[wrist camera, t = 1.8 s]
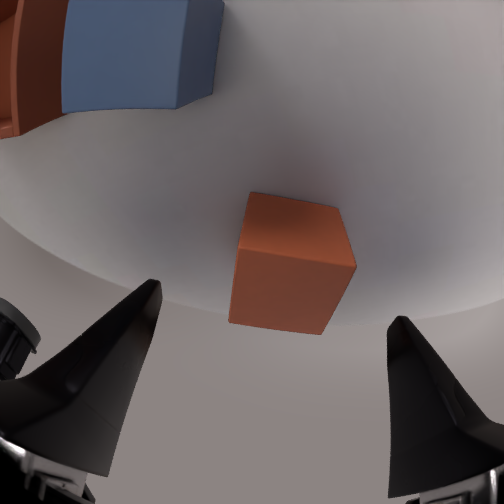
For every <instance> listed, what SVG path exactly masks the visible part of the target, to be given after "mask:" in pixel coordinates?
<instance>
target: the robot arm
mask: <svg viewBox="0 0 504 504" xmlns="http://www.w3.org/2000/svg"><path fill="white" fill-rule="evenodd" d="M162 299H163V295H162V288H161V282H160V281H159V280H154V279H148V280H147V281H146V282H144V283H143V284H142V285H140V286H139V287H138V288H137V289H135V290H134V291H133V292H132V293H131V294H129V295H128V296H127V297H126V298H124V299H123V300H122V301H121V302H119V303H118V304H117V305H116V306H115V307H113V308H112V309H111V310H110V311H108V312H107V313H106V314H105V315H104V316H103V317H101V318H100V319H99V320H98V321H96V322H95V323H94V324H93V325H92V326H91V327H89V328H88V329H87V330H86V331H85V332H84V333H82V336H81V335H80V336H79V337H78V338H76V339H75V340H74V341H73V342H72V343H70V344H69V345H68V346H67V347H66V348H64V349H63V350H62V351H61V352H59V353H58V354H56V355H55V356H54V357H52V358H51V359H50V360H48V361H47V362H45V363H44V364H42V365H41V366H40V367H38V368H37V369H36V370H34V371H33V372H31V373H30V374H28V375H26V376H24V377H22V378H18V379H15V377H16V375H17V374H19V373H20V371H21V369H22V367H23V365H24V363H25V361H26V359H27V357H28V355H29V353H30V352H32V353H34V354H36V353H37V351H36V350H35V348H34V347H33V346H32V345H31V343H30V342H29V341H28V339H27V338H26V337H25V335H24V334H23V333H22V331H21V330H20V329H19V327H18V326H17V324H16V323H15V322H14V321H12V320H10V319H9V318H7V317H5V316H3V315H2V314H0V504H95V498H94V496H93V495H92V493H91V492H90V490H89V488H88V487H87V485H86V483H85V481H86V477H87V473H92V474H96V475H100V476H104V477H108V475H109V471H110V467H111V463H112V460H113V456H114V452H115V449H116V445H117V442H118V439H119V435H120V432H121V428H122V425H123V422H124V419H125V416H126V412H127V409H128V406H129V403H130V400H131V397H132V394H133V391H134V388H135V385H136V382H137V380H138V377H139V374H140V371H141V368H142V365H143V363H144V360H145V357H146V354H147V352H148V349H149V346H150V344H151V341H152V338H153V334H154V330H155V327H156V323H157V319H158V315H159V311H160V307H161V304H162ZM387 367H388V368H387V370H388V382H389V397H390V422H391V452H390V454H391V456H390V476H389V489H388V498H395V497H401V496H406V495H411V494H416V493H420V497H418V498H415V499H412V500H409V501H407V502H406V504H504V425H502V424H499V423H495V422H493V421H491V420H490V419H488V418H487V417H486V416H485V414H484V413H483V412H482V411H481V409H480V408H479V407H478V406H477V405H476V403H475V402H474V401H473V400H472V398H471V397H470V396H469V395H468V393H467V392H466V391H465V390H464V388H463V387H462V386H461V384H460V383H459V381H458V380H457V379H456V378H455V376H454V375H453V373H452V372H451V371H450V369H449V368H448V367H447V365H446V364H445V363H444V361H443V360H442V359H441V358H440V356H439V355H438V354H437V353H436V351H435V350H434V349H433V347H432V346H431V345H430V344H429V343H428V341H427V340H426V339H425V338H424V336H423V335H422V334H421V333H420V331H419V330H418V329H417V328H416V327H415V325H414V324H413V323H412V322H411V321H410V319H409V318H408V317H406V316H397V317H396V318H395V320H394V321H393V322H392V324H391V325H390V326H389V328H388V330H387Z"/></svg>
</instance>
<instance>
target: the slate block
mask: <svg viewBox="0 0 504 504" xmlns="http://www.w3.org/2000/svg"><path fill="white" fill-rule="evenodd" d="M224 4H225V3H224V2H223V1H222V0H69V3H68V9H67V15H66V22H65V30H64V40H63V53H62V80H61V90H62V113H64V114H65V113H74V112H84V111H96V110H112V109H177V108H180V107H182V106H184V105H186V104H189V103H191V102H193V101H196V100H198V99H200V98H203V97H205V96H208V95H210V94H212V89H213V80H214V72H215V64H216V56H217V49H218V42H219V35H220V28H221V22H222V16H223V10H224Z"/></svg>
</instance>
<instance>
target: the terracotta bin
mask: <svg viewBox="0 0 504 504" xmlns="http://www.w3.org/2000/svg"><path fill="white" fill-rule="evenodd" d="M68 3H69V0H0V139H4V138H10V137H14V136H15V137H16V136H21V135H23V134H25V133H27V132H29V131H31V130H33V129H35V128H37V127H39V126H41V125H43V124H45V123H47V122H50V121H52V120H54V119H56V118H59V117H61V116H64V115H66V114H68V113H65V114H64V113H62V90H61V80H62V53H63V40H64V30H65V22H66V15H67V9H68Z"/></svg>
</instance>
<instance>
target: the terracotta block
mask: <svg viewBox="0 0 504 504" xmlns="http://www.w3.org/2000/svg"><path fill="white" fill-rule="evenodd" d="M356 268H357V265H356V262H355V258H354V255H353V252H352V249H351V245H350V242H349V239H348V236H347V233H346V230H345V227H344V224H343V221H342V218H341V215H340V212H339V209H338V208H334V207H330V206H325V205H320V204H315V203H310V202H305V201H299V200H294V199H289V198H283V197H278V196H272V195H266V194H260V193H254V192H250V194H249V198H248V202H247V207H246V211H245V216H244V220H243V225H242V229H241V234H240V238H239V243H238V247H237V255H236V263H235V271H234V278H233V286H232V294H231V303H230V311H229V319H228V321H229V323H234V324H240V325H246V326H253V327H260V328H267V329H274V330H281V331H289V332H297V333H306V334H315V335H316V334H317V335H321V334H322V332H323V331H324V329H325V327H326V325H327V324H328V322H329V320H330V318H331V316H332V315H333V313H334V311H335V309H336V307H337V305H338V303H339V302H340V300H341V298H342V296H343V294H344V292H345V290H346V288H347V286H348V284H349V282H350V280H351V278H352V276H353V274H354V272H355V270H356Z"/></svg>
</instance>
